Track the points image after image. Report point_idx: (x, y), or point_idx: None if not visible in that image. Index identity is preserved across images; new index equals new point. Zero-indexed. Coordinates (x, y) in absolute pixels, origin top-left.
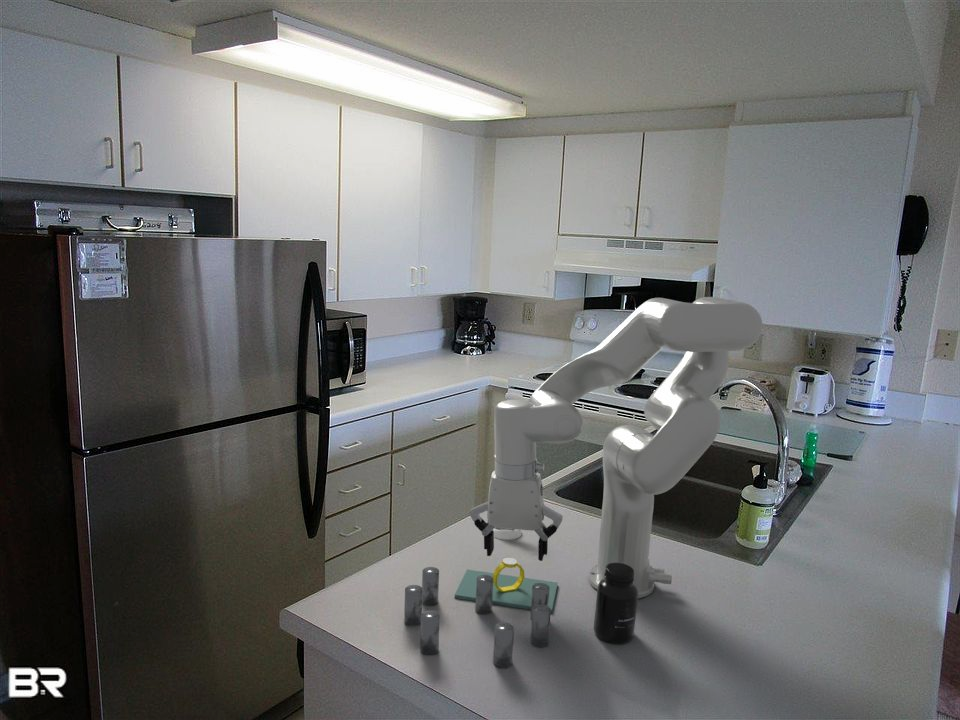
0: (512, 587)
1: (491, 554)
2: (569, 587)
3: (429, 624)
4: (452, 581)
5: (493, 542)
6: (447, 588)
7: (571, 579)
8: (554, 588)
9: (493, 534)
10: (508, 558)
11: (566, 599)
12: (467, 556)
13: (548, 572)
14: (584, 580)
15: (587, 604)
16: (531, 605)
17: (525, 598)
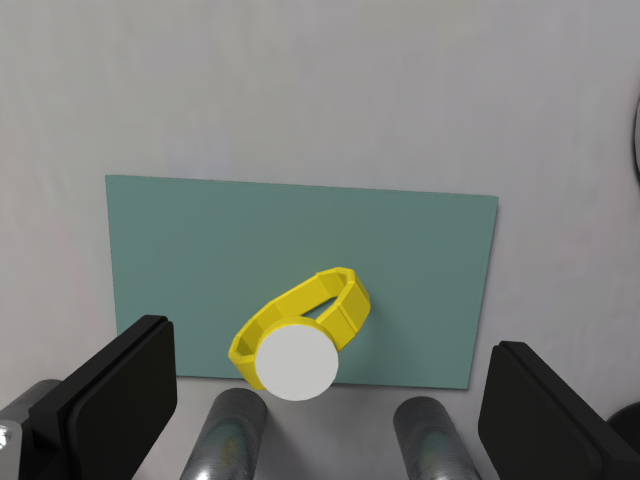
0: (318, 291)
1: (176, 387)
2: (539, 198)
3: None
4: (82, 260)
5: (146, 355)
6: (82, 312)
7: (555, 128)
8: (483, 246)
9: (102, 394)
10: (284, 336)
11: (519, 288)
12: (69, 17)
13: (458, 87)
14: (611, 123)
15: (592, 304)
16: (405, 466)
17: (372, 340)
